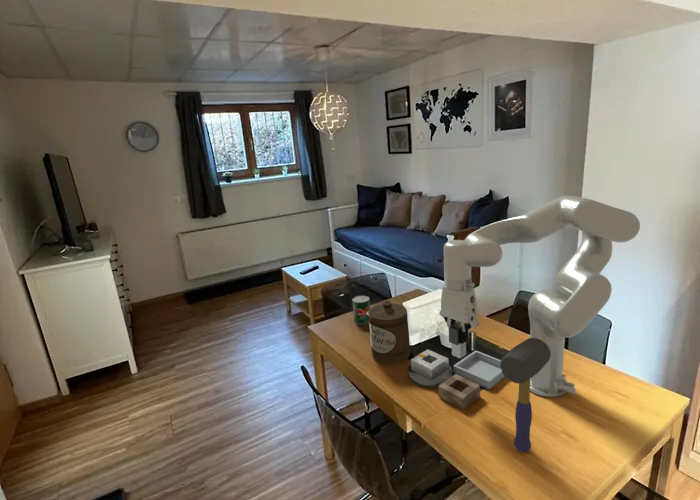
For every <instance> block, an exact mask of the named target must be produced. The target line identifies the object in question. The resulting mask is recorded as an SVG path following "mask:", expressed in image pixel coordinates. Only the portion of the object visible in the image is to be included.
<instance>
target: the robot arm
mask: <svg viewBox="0 0 700 500" xmlns="http://www.w3.org/2000/svg"><path fill="white" fill-rule="evenodd" d="M567 228H571V229H574V230H578V231H579V232H580V231H581V234H582V236H581V242H580V245H579V247H578V248H577V249H576V251H575V252H574V254H572V256H571V257H570V259H568V260H567V261H566V263H565V264H564V265H563V267H561V269H559V271H558V273H556V276H555V278H554V284H555V286H556V287H557V289H558V290H559V291H560V292H562V293H563V294H565V295H567V296H569V297H568V299H565V298H564V297H563V296H561V295H559V294H558V293H556V292H553V291H550V290H544V289H543V290H539V291H537V292H535V293H534V294H533V295H532V296H531V297H530V298H529V301H528V305H527V308H528V309H527V310H528V317H529V325H530V326H529V327H530V329H529V330H530V332H529V333H530V335H529V338H537V339H540V340H542V341H543V342H544V343H546V345H547V346H548V347H549V349H550V353H551V357H550V360H549V361H548V362H547V363H546V365H545V366H544V367H543V368H542V369H541V370H540V371H539V372H538V373H537V374H536V375H534V376H533V377H532V378H530V393H534V394H535V395H538V396H541V397H542V396H543V397H546V398H557V397H561V396H563V395H565V394H566V393H568V394H571V395H575V394H576V391H577V388H575V385H576V384H575V383H572V382H569V381H568V380H567V379H566V374H563V368H564V355H565V353H564V352H565V342H566V338H572V337H574V336H577V335H578V334H579V333H581V332H582V331H583V330H585V328H586V327H587V325H589V324H590V323H591V321H592V320H593V319H594V318H595V317H596V315H598V314H599V313H600V312H601V310H603V308H604V307H605V306H606V304H607V303H608V301H609V300H610V298H611V295H612V291H613V290H612V289H613V288H612V284H611V282H610V280H609V279H608V278H607V277H606V276H604V275H603V274H601V273H602V271H603V270H604V269H605V267H606V266H607V265H608V264H609V261H611V258H612V254H613V242H614V243H626V242H629V241H631V240H633V239H634V238H636V236H637V235H638V234H639V231H640V228H641V223H640V219H639V218H638V217H637V215H636V214H635V213H633V212H630V211H627V210H624V209H621V208H619V207H615V206H612V205H608V204H605V203H602V202H601V201H600V202H599V201H596V200H594V199H590V198H587V197H581V196H575V195H563V196H560V197H557V198H555V199H553V200H551V201H548V202H547V203H545V204H543V205H541V206H539V207H536V208H534V209H533V210H531V211H528V212H527V213H524V214H522V215H518V216H514V217H510V218H507V219H502V220H499V221H496V222H493V223H490V224H487V225H485V226H483V227H481V228H479V229H477V230H474V231H473V232H471V233H469V234H468V235H467V236H466V237H465V238H464V239H463V240H462V239H453V240H449V241H447V242H445V243H444V245H443V275H444V276H443V277H444V280H443V281H444V285H442V291H441V295H440V296H441V297H440V298H441V299H440V310H439V316H441V318H443V319H444V321H445V322H446V326H447V327H448V328H449V326H451V325H453V324H454V323H456V322H458V321H459V322H461V331H460V343H461V344H463V343H465V342H466V343H467V341H469V331H470V329H471V328H472V329H473V328H477V327H479V325H480V324H479V321H478V301H477V295H476V292H475V285H476V283H474V282H473V281H472V267H479V268H488V267H489V268H490V267H494V266H495V265H496V266H497V264H499V263H500V262H501V260H502V258H503V255H504V253H503V252H504V251H503V249H502V247H501V246H502V245H506V244H516V243H517V244H518V243H519V244H531V243H537V242H539V241H542V240H543V239H546V238H548V237H550V236H552V235H554V234H555V233H558V232H560V231H562V230H565V229H567ZM465 325H466V326H465Z"/></svg>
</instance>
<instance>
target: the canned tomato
mask: <svg viewBox="0 0 700 500" xmlns="http://www.w3.org/2000/svg"><path fill="white" fill-rule="evenodd" d="M370 302H371V301H370V297H369V296H367V295H356V296H354V297H353V298H352V310H353V312H352V313H353V322H354V323H355V324H356V325H360V326H361V325H367V324H369V322H368V317H367V312H368V311H369V310H370V309H371V304H370Z"/></svg>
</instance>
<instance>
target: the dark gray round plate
mask: <svg viewBox="0 0 700 500" xmlns="http://www.w3.org/2000/svg"><path fill="white" fill-rule="evenodd" d="M407 375H408V378H409V380H410V381H411V383H413V384H415V385H416V386H418V387H421V388H425V389H438V386H439V385H441V384H442V383H443V382H445V381H446V380H448V379H449V378H450V377H452V376H453V369H452V367H451V365H450V364H449V369H448V370H446V371H445V372H443V373H442V374H440V375H439V376H437V377H436V378H434V379H433V380H431V379H429V378H427V377H425V376H423V375H421V374H419V373H417V372H415V371H413V370H411V363H410V364H409V366H408V368H407Z"/></svg>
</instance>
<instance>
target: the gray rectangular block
mask: <svg viewBox="0 0 700 500" xmlns="http://www.w3.org/2000/svg"><path fill="white" fill-rule="evenodd" d="M465 326H466V325H465ZM460 331H461V322H459V321H456V323H454V324H453V325H451V326H449V327H448V342H449V343H450V344H451V355H452V356H454V357H456V358H458V359H463V358H464V357H466V355H467V341H466V342H465V343H463V344H461V343H460Z"/></svg>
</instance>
